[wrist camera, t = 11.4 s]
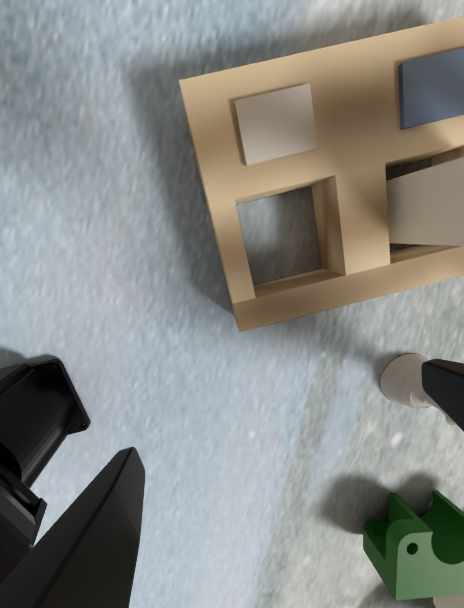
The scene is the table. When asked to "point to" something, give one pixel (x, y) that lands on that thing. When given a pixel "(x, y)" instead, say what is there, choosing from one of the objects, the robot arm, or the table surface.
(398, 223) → the plug
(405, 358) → the chalice
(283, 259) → the table surface
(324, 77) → the socket board
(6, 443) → the robot arm
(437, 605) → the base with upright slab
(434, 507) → the clamp
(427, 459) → the table surface
